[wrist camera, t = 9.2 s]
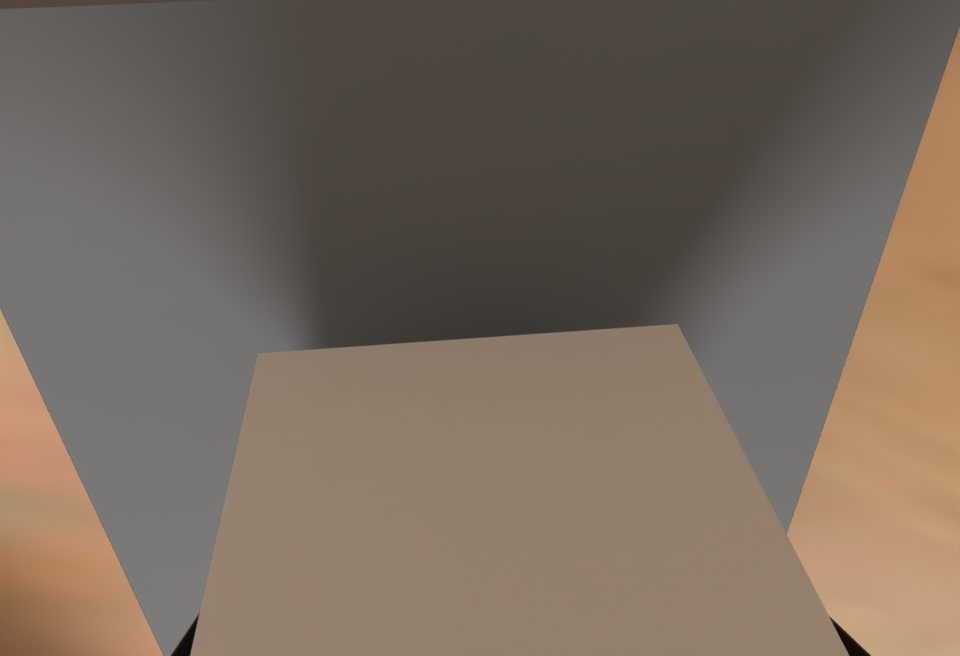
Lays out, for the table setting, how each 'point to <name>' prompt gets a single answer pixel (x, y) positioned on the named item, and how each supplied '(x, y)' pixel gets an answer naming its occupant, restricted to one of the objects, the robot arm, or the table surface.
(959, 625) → the table surface
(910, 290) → the table surface
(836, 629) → the robot arm
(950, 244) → the table surface
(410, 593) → the off-white cube
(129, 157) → the gray mat
